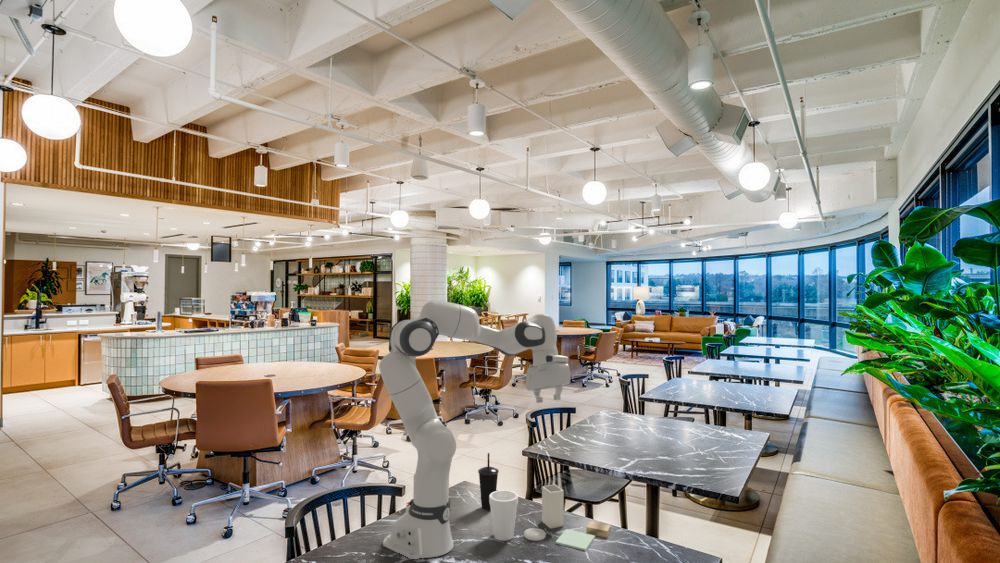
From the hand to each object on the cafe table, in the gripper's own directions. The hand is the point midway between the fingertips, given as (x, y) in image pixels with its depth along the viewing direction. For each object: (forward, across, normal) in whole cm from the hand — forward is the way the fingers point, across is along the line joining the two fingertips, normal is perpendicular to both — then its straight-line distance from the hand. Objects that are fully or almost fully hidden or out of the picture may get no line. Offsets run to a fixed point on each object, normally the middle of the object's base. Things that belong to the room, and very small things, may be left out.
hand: (548, 401), depth 170 cm
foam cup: (+42, -16, -9) cm, 46 cm away
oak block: (+43, 0, +19) cm, 46 cm away
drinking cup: (+36, -36, -2) cm, 51 cm away
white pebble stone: (+42, -11, -1) cm, 44 cm away
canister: (+40, -14, +10) cm, 43 cm away
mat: (+44, -1, +8) cm, 44 cm away
